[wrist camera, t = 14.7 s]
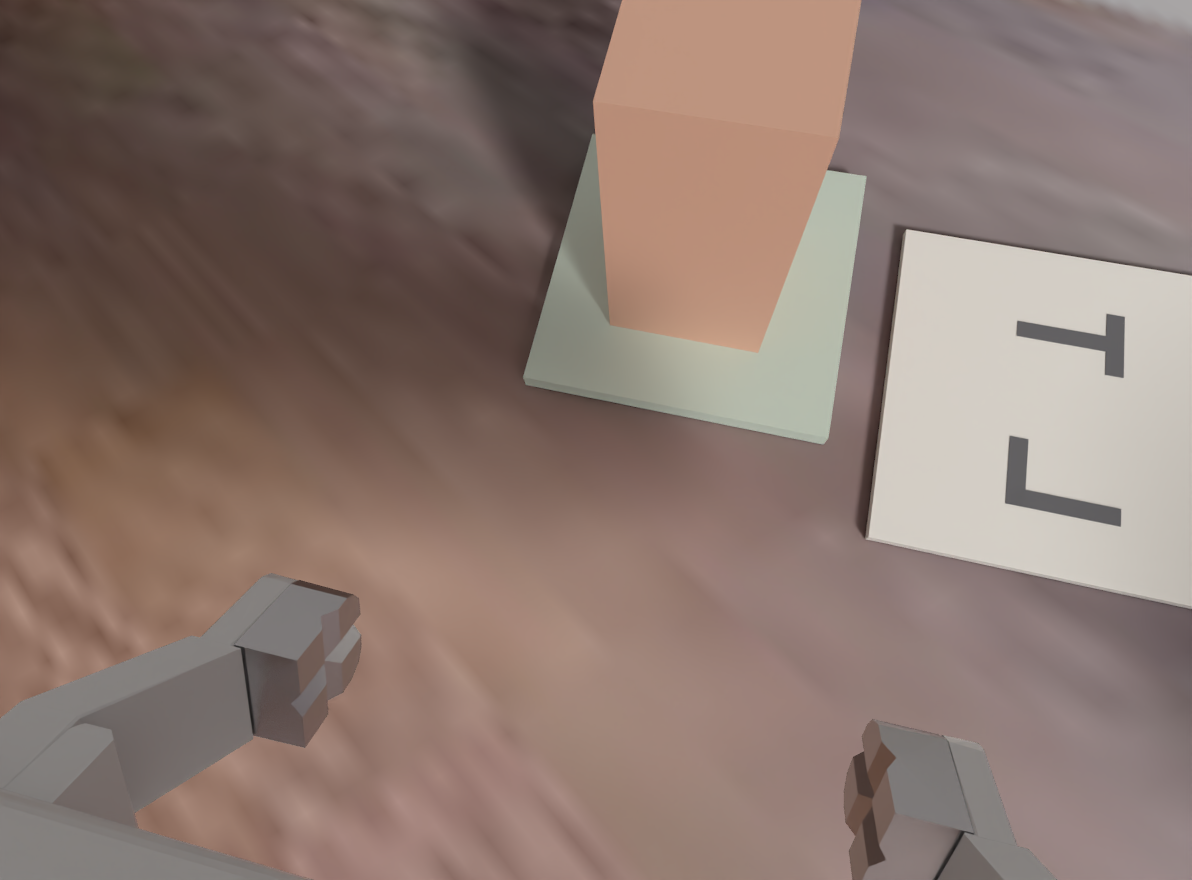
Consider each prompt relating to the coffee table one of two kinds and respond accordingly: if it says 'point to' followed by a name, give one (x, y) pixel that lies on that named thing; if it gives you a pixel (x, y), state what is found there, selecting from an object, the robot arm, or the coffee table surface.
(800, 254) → the coaster
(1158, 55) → the coffee table surface
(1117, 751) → the coffee table surface
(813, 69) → the block
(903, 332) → the tile
